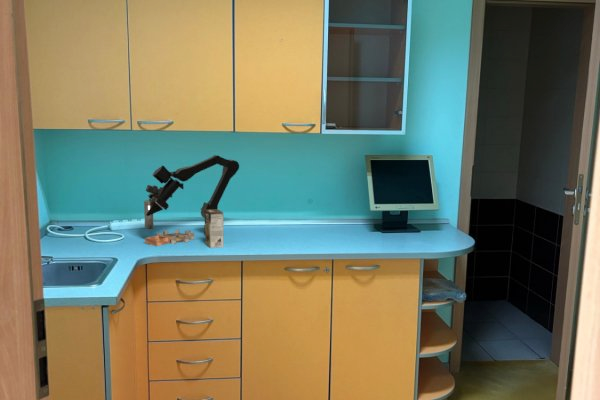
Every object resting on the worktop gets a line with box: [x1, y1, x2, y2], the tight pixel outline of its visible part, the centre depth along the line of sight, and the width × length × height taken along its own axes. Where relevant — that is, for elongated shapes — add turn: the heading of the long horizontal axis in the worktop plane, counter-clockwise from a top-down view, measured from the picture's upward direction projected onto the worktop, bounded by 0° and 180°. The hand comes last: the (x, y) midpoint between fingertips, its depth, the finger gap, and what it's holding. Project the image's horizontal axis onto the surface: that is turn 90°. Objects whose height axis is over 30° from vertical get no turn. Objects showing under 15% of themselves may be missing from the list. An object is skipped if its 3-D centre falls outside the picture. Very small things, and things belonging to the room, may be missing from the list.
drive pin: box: [143, 199, 155, 230], centre depth 275 cm, size 4×4×13 cm
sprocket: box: [144, 229, 195, 247], centre depth 277 cm, size 23×17×3 cm
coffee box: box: [204, 208, 224, 249], centre depth 266 cm, size 9×6×16 cm
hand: (145, 214), depth 274 cm, fingers closed on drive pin, 4 cm apart
